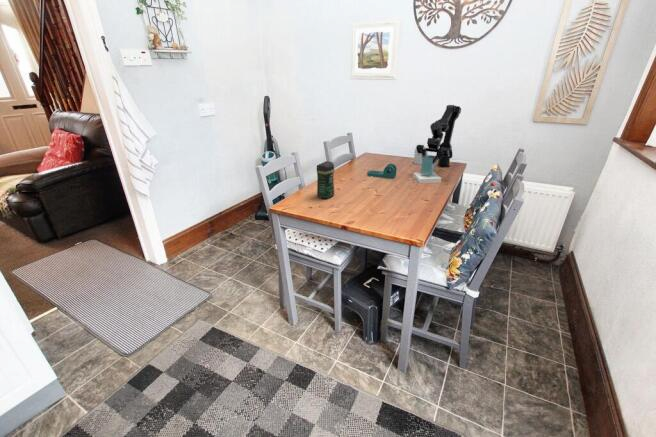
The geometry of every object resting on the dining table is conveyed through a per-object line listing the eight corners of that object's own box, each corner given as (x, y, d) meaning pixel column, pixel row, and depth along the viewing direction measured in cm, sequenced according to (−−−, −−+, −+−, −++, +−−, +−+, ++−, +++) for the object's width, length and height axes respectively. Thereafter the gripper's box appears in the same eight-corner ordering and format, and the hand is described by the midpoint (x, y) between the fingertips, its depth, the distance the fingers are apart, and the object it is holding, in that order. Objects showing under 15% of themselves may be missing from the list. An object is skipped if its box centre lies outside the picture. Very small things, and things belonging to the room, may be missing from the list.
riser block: (433, 176, 191) (433, 171, 189) (441, 183, 179) (441, 178, 178) (412, 177, 190) (413, 172, 189) (419, 184, 179) (419, 179, 177)
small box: (424, 162, 218) (426, 148, 214) (426, 164, 213) (428, 149, 209) (413, 162, 219) (414, 148, 215) (414, 164, 214) (416, 149, 210)
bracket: (396, 175, 192) (397, 163, 189) (393, 179, 187) (394, 166, 183) (368, 173, 199) (369, 161, 196) (365, 176, 193) (366, 164, 190)
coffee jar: (327, 200, 158) (326, 165, 150) (315, 197, 161) (313, 163, 153) (336, 194, 165) (336, 161, 157) (324, 192, 169) (323, 159, 161)
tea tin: (424, 170, 186) (426, 154, 182) (434, 172, 183) (436, 155, 179) (420, 173, 182) (422, 157, 178) (430, 174, 179) (432, 158, 175)
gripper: (418, 131, 180) (410, 153, 177) (450, 133, 170) (442, 157, 167) (421, 141, 190) (413, 163, 186) (452, 144, 180) (444, 167, 176)
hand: (427, 162), depth 179 cm, fingers closed on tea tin, 6 cm apart
